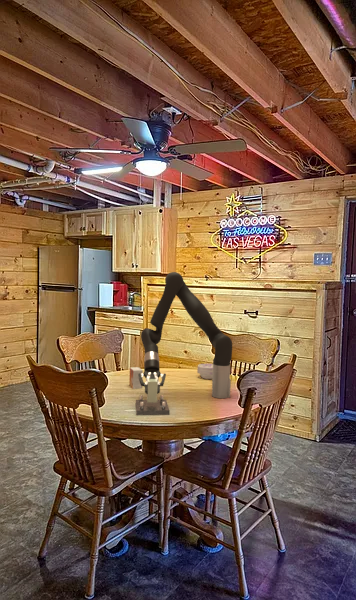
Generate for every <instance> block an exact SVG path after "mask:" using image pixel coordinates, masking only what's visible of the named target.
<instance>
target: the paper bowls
mask: <svg viewBox="0 0 356 600" xmlns="http://www.w3.org/2000/svg"><path fill="white" fill-rule="evenodd" d="M196 370H197V371H196V372H197V374H199V376H200V377H201V378H203V379H204V380H205V379H206V380H212V379H213V363H199V364H198V365H197V369H196Z"/></svg>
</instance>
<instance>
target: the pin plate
mask: <svg viewBox="0 0 356 600" xmlns="http://www.w3.org/2000/svg"><path fill="white" fill-rule="evenodd" d="M159 396H160V397H159V399H157V403H147V399H144V395H143V394H142V395H141V394H140V395H139V399H135V411H136V412H135V413H136V416H161V415H162V416H165V415H166V416H170V407H169V404H168V401H167V399H164V394H162V395H159Z"/></svg>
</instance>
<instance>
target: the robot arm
mask: <svg viewBox="0 0 356 600" xmlns="http://www.w3.org/2000/svg"><path fill="white" fill-rule="evenodd" d="M165 276H166V277H165V279H164V280H165V281H164V282H165V285H164V289H163V294H162V296H161V297H160V300H159V302H158V303H157V306H156V308H155V309H154V311H153V314H152V316H151V319H150V325H152V326H154V327H155V329H152V328H149V327H145V328H143V330H141V334H140V339H141V342H142V346H143V349H144V357H143V358H144V359H143V365H144V366H143V367H144V368H143V369H144V370H143V374H140V373H139V374H138V378H139V381H140V384H141V386H142V387H144V393H145V394H146V395H147V394H148V385H147V384H148V379H157V381H158V388H157V395H159V394H160V393H161V387H164V384H165V380H166V377H167V376H166V375H167V374H166V373H161V371H160V357H159V356H160V355H159V346H158V345H159V343H160V342H161V340H162V334H163V329H164V328H163V327H164V324H165V322H166V319H167V317H168V314H169V312H170V309H171V307H172V304H173V302H174V300H175V298H176V297H177V298H178V300H179V301H180V302H181V304H182V307H184V310H185V311H186V313H187V314H188V315H189V317H190V318H191V319H192V320H193V322H194V323H195V324H196V325H197V326H198V327H199V329H200V330H202V331H203V332H204V334H205V335H206V337H207V338H208V339H209V341H210V343H211V345H212V346H213V348H214V357H213V359H212V364H213V379H211V380H212V382H211V384H212V385H211V396H212V397H213V398H216V399H227V398H231V384H232V382H231V380H232V379H231V362H232V358H233V357H232V356H233V340H232V338H231V337H229V335H226V334H225V333H223V332H222V330H220V328H219V327H218V326H217V325H216V323H215V321H214V319H213V317H212V315H211V314H210V312H209V310H208V309H207V308H206V306H205V305H204V303H202V301H201V300H200V299H199V298H198V297H197V296H196V295H195V294H194V293H193V292H192V291H191V289H189V287H188V285H187V284H186V283H185V281H184V278H183V276H182V275H181V274H180V273H179V272H178V271H177V272H176V271H170V272H169V273H168V274H167V275H165ZM143 378H145V382H144V379H143ZM159 378H161V381H160V380H159Z"/></svg>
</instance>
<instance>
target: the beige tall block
mask: <svg viewBox="0 0 356 600" xmlns="http://www.w3.org/2000/svg"><path fill="white" fill-rule="evenodd" d="M147 385H148V394H146V400H147V403H157V400H158V394H157V388H158V381H157V379H148V384H147Z"/></svg>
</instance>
